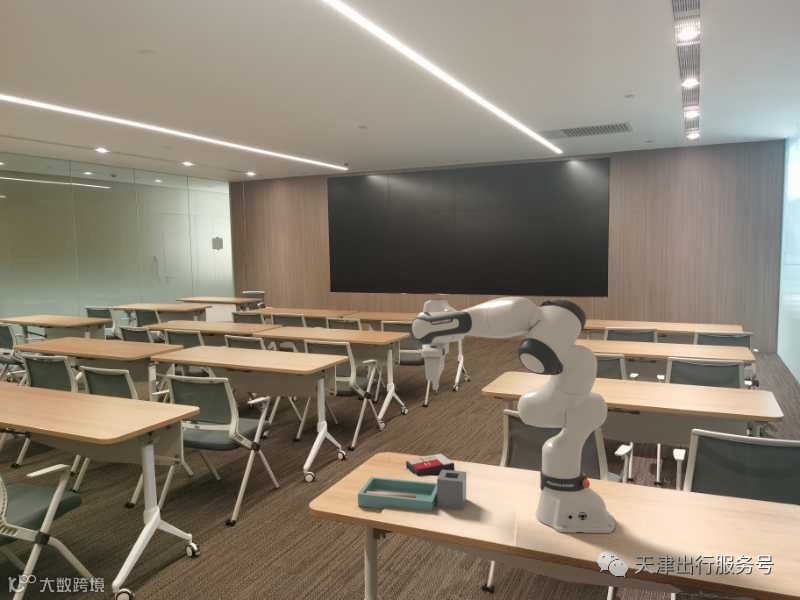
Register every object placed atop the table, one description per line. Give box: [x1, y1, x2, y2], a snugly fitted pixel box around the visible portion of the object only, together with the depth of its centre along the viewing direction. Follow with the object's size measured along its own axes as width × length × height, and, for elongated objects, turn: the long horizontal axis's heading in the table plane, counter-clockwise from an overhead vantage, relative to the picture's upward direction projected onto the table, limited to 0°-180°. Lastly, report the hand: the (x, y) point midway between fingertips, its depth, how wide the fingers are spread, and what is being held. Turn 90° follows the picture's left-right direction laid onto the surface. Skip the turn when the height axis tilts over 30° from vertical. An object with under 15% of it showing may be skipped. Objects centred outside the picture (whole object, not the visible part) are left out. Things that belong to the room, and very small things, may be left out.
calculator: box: [405, 453, 456, 477], centre depth 204 cm, size 11×4×15 cm
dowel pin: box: [366, 491, 416, 498], centre depth 177 cm, size 2×2×16 cm
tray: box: [357, 476, 437, 512], centre depth 179 cm, size 24×14×4 cm, turn 76°
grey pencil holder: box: [436, 470, 467, 511], centre depth 174 cm, size 8×8×10 cm
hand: (435, 388), depth 183 cm, fingers closed
